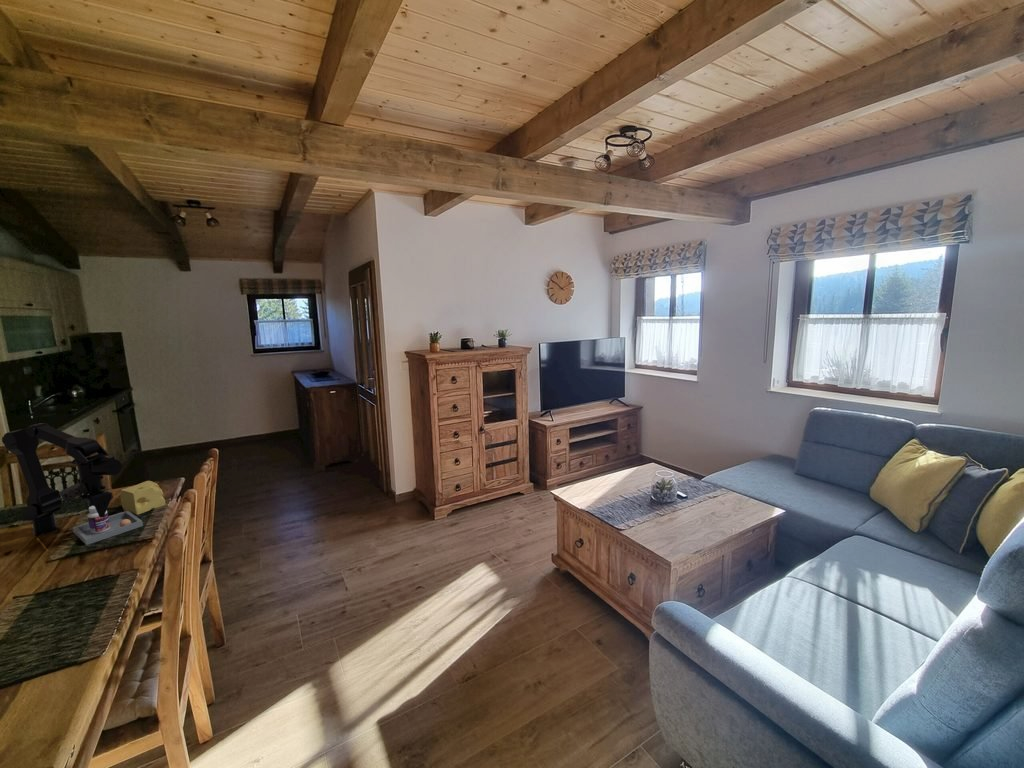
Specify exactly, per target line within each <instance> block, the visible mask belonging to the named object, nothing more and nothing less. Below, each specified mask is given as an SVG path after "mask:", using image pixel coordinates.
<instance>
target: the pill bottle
mask: <svg viewBox="0 0 1024 768" xmlns="http://www.w3.org/2000/svg"><path fill="white" fill-rule="evenodd" d="M88 512H89V513H87V521H88V522H87V523H89V527H90V532H91V533H92V534H97V533H102V532H105V531H107V530H108V529H110V524H109V519H108V516H109V514H108V509H107V510H106V513H105V515H104V517H101V518H100V517H99V515H98V513H97V511H96V509H95V506H91V507H88Z"/></svg>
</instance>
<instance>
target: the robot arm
mask: <svg viewBox="0 0 1024 768" xmlns="http://www.w3.org/2000/svg"><path fill="white" fill-rule="evenodd" d="M40 440H41V441H42V440H43V441H45V442H47V443H50V444H52V445H55V446H57V447H59V448H61V449H63V450H64V451H65V453H66V455H68V456H70V457H71V458H72V459H73V460H71V462H70V464H71V465H76V468H77V473H78V478H77V479H76V481H77V482H76V483H75V484H73V485H70V486H68V487H66V488H65V489H62V490H61V491H59V490H58V489H54V488H51V487H50V486H49V482H48V480H47V477H46V475H45V472H44V469H43V467H42V464H41V461H40V459H39V456H38V453H37V449H38V447H39V445H40ZM1 442H2V443H3V445H4V447H5V448H6V450H7V451H8V452H10V453H11V454H13V455H15V456H16V458H17V461H18V464H19V467H20V470H21V472H22V475H23V477H24V481H25V483H26V485H27V488H28V491H29V493H28V496H27V498H26V500H25V501H26V505H27V507H26V508H25V510H24V511H23V513H22V514H21V518H22V519H23V520H24V521H30V522H32V525H33V526H32V527H33V529H32V530H31V533H32V534H33V535H34V536H35V537H37V536H41V535H43V534H44V535H45V534H47V533H50V532H53V531H56V530H60V529H61V528H60V526H59V524H57V521H56V518H55V513H56V512H59V511H61V509H62V507H61V506H62V503H63V501H62V500H64V501H65V502H66V503H68V502H71V501H72V500H74V499H76V498H77V497H79V498H82V499H84V500H85V501H86V503H87V505H88V506H89V507H91V506H95V509H96V511H97V513H98V515H99V517H100V518H101V517H104V515H105V513H106V510H107V511H108V507H109V505H110V503H111V501H112V500H113V498H114V496H113V492H111V491H110V490H107V489H106V486H105V485H104V482H103V479H104V476H115V475H118V474H119V473H120V472H121V470H122V468H123V465H122V462H121V461H120V460H119V459H116V458H115V456H109V453H108V452H107V450H106V449H105V448H104V447H103V446H102V445H101V444H100V443H99V441H97V440H95V439H93V438H89V437H78V436H74V435H71V434H70V433H67V432H65V431H62V430H61V429H57V428H56V427H52V426H50V424H49V423H46V422H40V423H36V424H31V425H28V426H26V427H25V428H22V429H16V430H13V431H9V432H6V433H5V434H3V436H2V438H1ZM89 507H88V508H89Z"/></svg>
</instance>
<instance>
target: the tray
mask: <svg viewBox="0 0 1024 768" xmlns="http://www.w3.org/2000/svg"><path fill="white" fill-rule="evenodd" d="M108 519H109V524H110V529H108V530H107V531H105V532H102V533H97V534H92V533H91V532H90V527H89V522H86V523H83V524H79V525H77V526H73V527H72V532H73V534H74V535H75V536H77V538H78V539H79V540H80V541H81V542H83V543H84V544H85V546H87V545H88V546H89V545H91V544H95V543H97V542H101V541H104V540H105V539H109V538H112V537H114V536H115V537H116V536H117V535H120V534H123V533H126V532H129V531H132V530H135V529H137V528H141V527H143V526H144V522H143V520H142V519H140V518H139V517H137V515H136V514H134V513H131V512H129V511H124V510H123V511H121V512H118V513H115V514H112V515H108ZM124 519H129V520H130V521H131V524H128V525H125V526H122V527H120V522H121V521H122V520H124Z"/></svg>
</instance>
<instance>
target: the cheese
mask: <svg viewBox="0 0 1024 768" xmlns="http://www.w3.org/2000/svg"><path fill="white" fill-rule="evenodd" d="M163 495H164V492H163V490H162V488H161V487H160V486H159V484H157V483H156V482H154V481H151V480H146V481H143V482H141V483H138V484H134V485H132V486H129V487H126V488H122V489H120V495H119V496H120V498H119V499H120V503H121V507H122V509H123V512H124V511H129V512H130V513H132V514H133V515H135V516H137V515H140V514H144V513H146V512H149V511H151V510H152V509H157V508H160V507H162V506H166V499H165V498H164V497H163Z"/></svg>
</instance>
